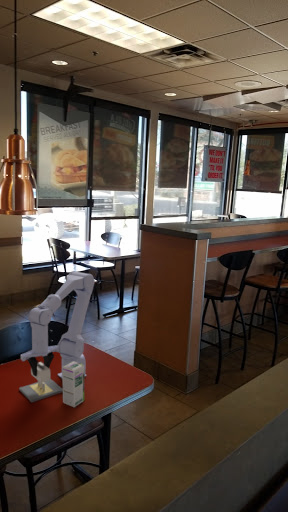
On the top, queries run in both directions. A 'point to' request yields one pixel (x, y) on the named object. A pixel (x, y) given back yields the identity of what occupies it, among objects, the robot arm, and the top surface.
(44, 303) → the robot arm
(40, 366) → the block
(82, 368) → the syrup box
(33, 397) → the board
